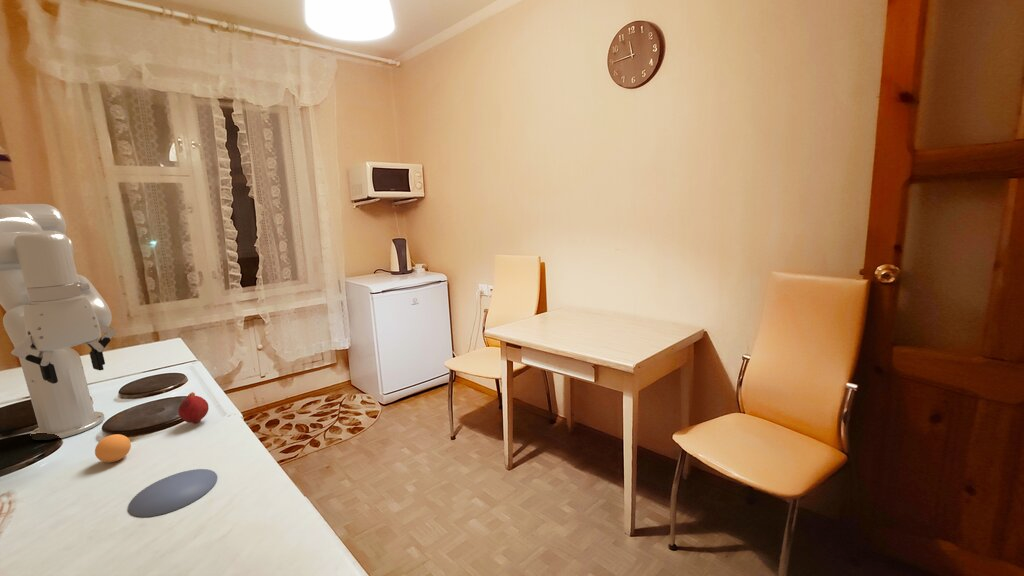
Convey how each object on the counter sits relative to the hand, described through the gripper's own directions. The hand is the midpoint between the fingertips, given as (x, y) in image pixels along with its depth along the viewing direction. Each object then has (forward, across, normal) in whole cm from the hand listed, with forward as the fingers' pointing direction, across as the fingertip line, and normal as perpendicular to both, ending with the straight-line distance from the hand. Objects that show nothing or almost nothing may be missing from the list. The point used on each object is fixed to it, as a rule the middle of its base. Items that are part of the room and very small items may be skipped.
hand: (76, 374), depth 91 cm
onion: (+18, -16, +9) cm, 25 cm away
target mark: (+18, 0, +34) cm, 38 cm away
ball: (+15, 0, +10) cm, 18 cm away
